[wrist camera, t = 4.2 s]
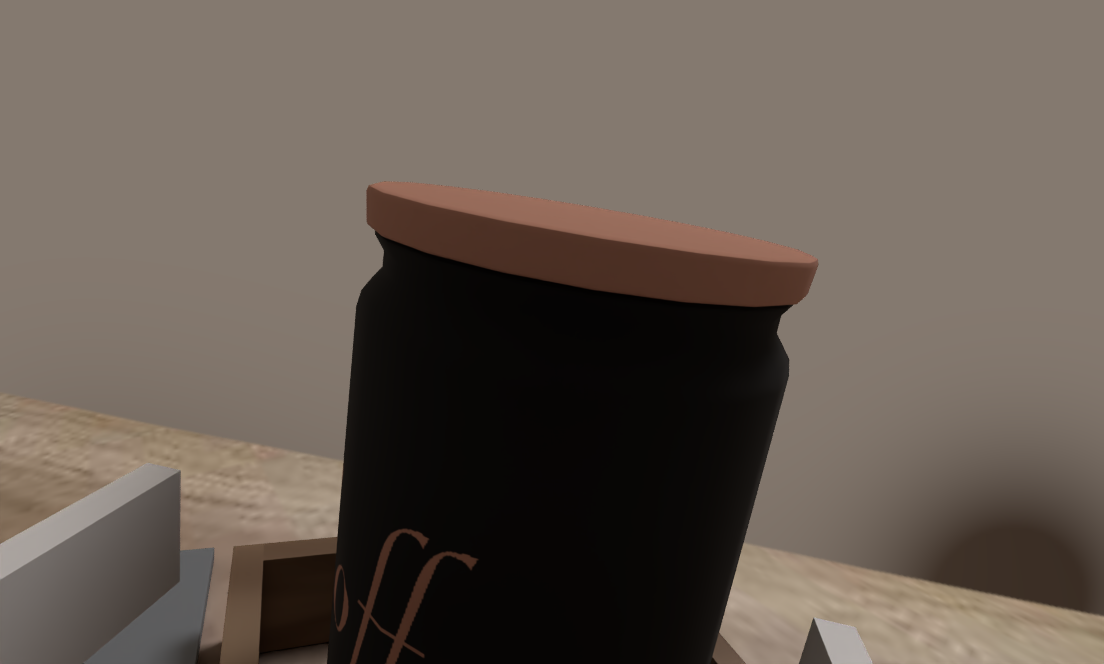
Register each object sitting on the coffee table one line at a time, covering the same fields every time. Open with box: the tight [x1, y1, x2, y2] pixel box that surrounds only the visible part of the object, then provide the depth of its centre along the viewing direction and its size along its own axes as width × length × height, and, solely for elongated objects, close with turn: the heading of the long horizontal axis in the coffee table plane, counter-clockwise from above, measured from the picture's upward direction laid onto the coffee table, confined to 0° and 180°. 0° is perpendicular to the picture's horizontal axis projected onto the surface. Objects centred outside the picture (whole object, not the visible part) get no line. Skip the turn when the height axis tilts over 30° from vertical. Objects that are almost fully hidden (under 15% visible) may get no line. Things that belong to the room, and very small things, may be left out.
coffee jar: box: [327, 181, 818, 664], centre depth 17 cm, size 11×11×18 cm
